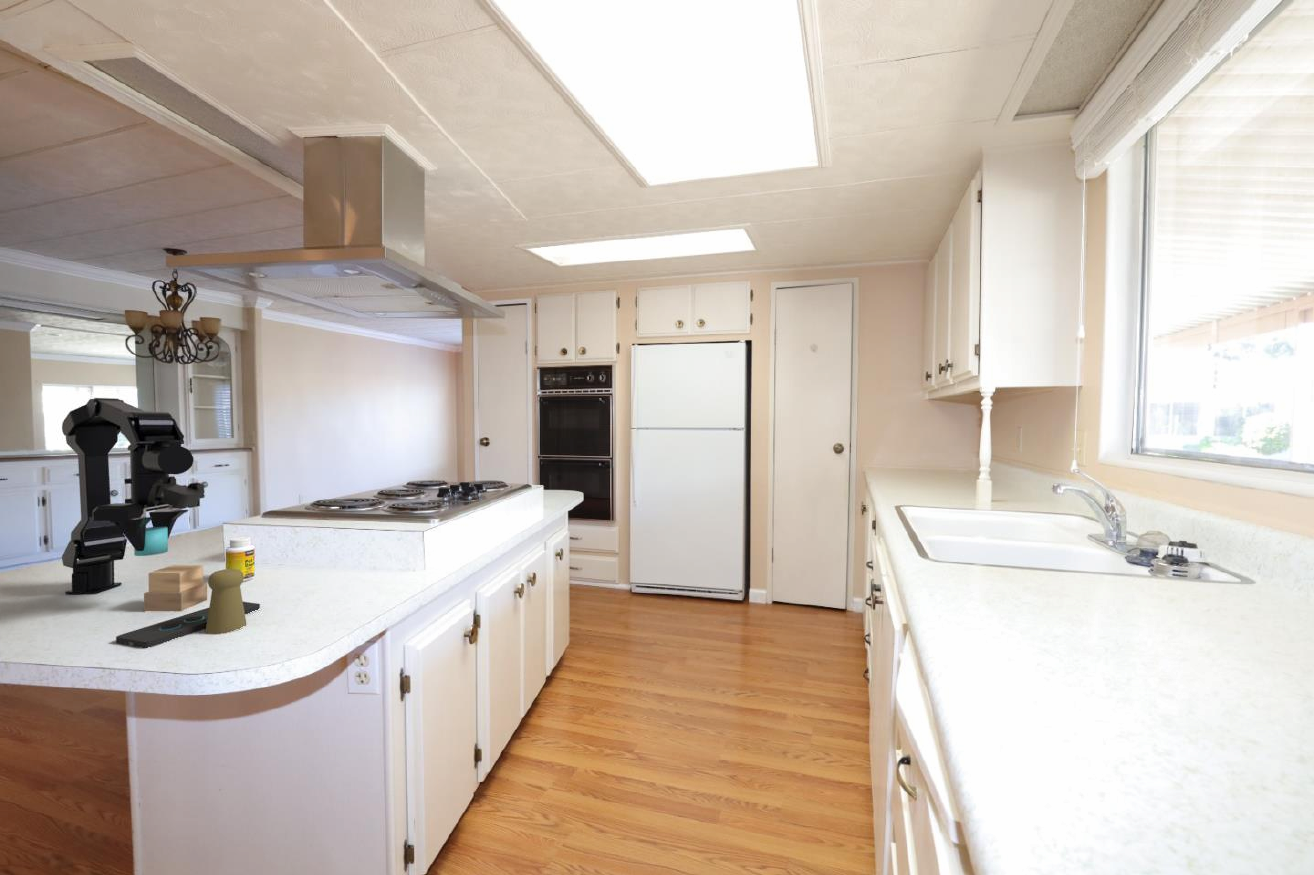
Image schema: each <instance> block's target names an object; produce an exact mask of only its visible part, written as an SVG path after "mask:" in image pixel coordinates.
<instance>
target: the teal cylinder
mask: <svg viewBox="0 0 1314 875" xmlns="http://www.w3.org/2000/svg"><path fill="white" fill-rule="evenodd" d="M133 548H134V547H133ZM168 552H169V538H168V527H153V526H151V527H146V534H145V546H144V550H143V551H136V550H135V548H134V552H133V553H134V556H136V557H146V556H154V555H160V554H164V553H168Z"/></svg>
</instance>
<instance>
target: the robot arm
mask: <svg viewBox="0 0 1314 875" xmlns="http://www.w3.org/2000/svg"><path fill="white" fill-rule="evenodd" d="M61 431H62V434H63V435H64V437H65V441H66V444H67V445H68V447H70V448H71V449H72V451H73V452H74V453H76V455H77V463H78V466H77V467H78V480H79V481H78V484H79V501H80V503H79V504H80V505H79V506H80V521H78V522H77V524H76V526H74V528H73V529H72V531H71V533H70V540H69V542H68V544H67V545H66V547H65V549H64V551H63V553H62V556H61V559H62V560H61V561H62V566H63V567H67V568H70V569H72V573H71V589H68V590H66V591H65V592H64V594H67V595H68V594H71V595H73V594H99V593H101V592H104V591H106V590H110V589H113V588H116V587H118V586H119V587H120V586H121V585H122V582H115V561H119V560H120V561H123V560H124V557H125V555H126V554H125V553H126V547H127V541H128V542H130V545H132V547H133V548H135V550H136V551H143V550H144V546H145V534H146V528H147V525H148V524H149V523H150V521H151V524H152V527H168V539H170V536H171V533H172V530H173V527H174V525H175V524H176V522H177V519H178V518H180V517H181V516H183V515H184V514H186V513H188V511H189V509H192V508H197V507H200V506H201V501H200V500H201V499H204V498H205V497H206V495H205V491H206V490H205V485H204V484H203V483H200V482H192V483H190V484H188V485H186V484H183V485H181V484H179V483H177V479H176V477H175V476H174V475H181V474H184V473H186V472H188V471H189V470H190V469H191V468H192V466H193V464H194V456H193V454H192V453H191V451H190V450H189V449H188V448H186V447H184V446H182V445H185V440H184V439H185V436H184V434H183V432H182V430H181V429H180V427H179V426H178V424H177V421H176V418H173V416H172V414H171V413H169V412H168V411H166V412H165V411H148V410H147V411H146V410H143V409H141V408H139V407H137V406H134V405H131V404H130V403H127V402H125V401H124V400H122V399H120V398H110V397H109V398H108V397H107V398H106V397H105V398H104V397H94V398H90V399H88V401H87V402H86V404H84V405H81V406H79V407H77V408H75V409H72V410H70V411H69V412H68V413H67V415H66V417H65V418H64V419H63V422H62V424H61ZM120 433H121V434H122V435H123V436H124V437H125V439H126V440H127V441H128V442H129V444H128V446H127V450H128V451H129V457H130V458H129V460H130V463H129V464H130V470H129V472H130V478H128V477H127V478H124V480H123V481H124V484H125V485H126V484H127V485H130V497H129V498H125V499H124V502H123V503H122V502H121V503H117V502H116V503H115V502H114V503H112V501H111V499H112V498H111V481H110V463H109V453H110V452H111V450H112V449H113V448H114V446H116V445H117V443H118V440H119V439H118V438H119V437H118V436H119V434H120ZM170 475H171V476H170ZM172 475H173V476H172ZM187 508H188V509H187ZM147 513H148V515H149V516H147Z"/></svg>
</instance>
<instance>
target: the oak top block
mask: <svg viewBox="0 0 1314 875" xmlns="http://www.w3.org/2000/svg"><path fill="white" fill-rule="evenodd" d="M203 583H204V564H172V565H169V566H166V567H164V568H160V569H157V570H153V571H150V572H148V592H182V591H185V590H187V589H190V588H193V587H195V586H198V585H200V584H203Z"/></svg>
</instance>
